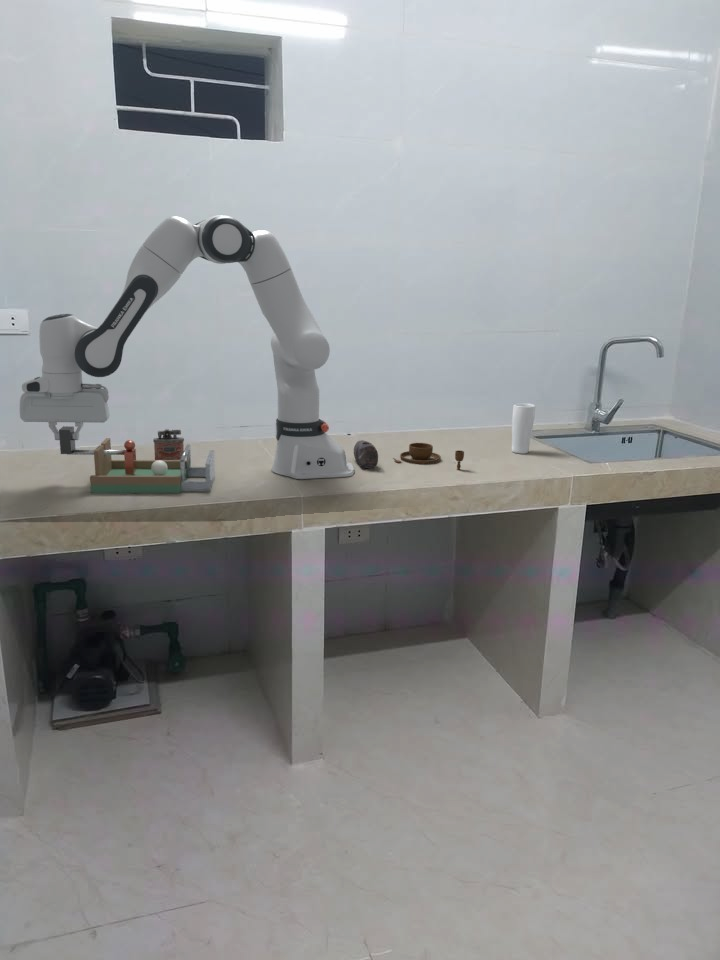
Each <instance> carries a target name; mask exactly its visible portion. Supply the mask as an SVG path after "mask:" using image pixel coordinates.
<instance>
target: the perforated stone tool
mask: <svg viewBox="0 0 720 960" xmlns="http://www.w3.org/2000/svg"><path fill="white" fill-rule="evenodd" d="M353 458H354V459H355V460H356V462H357V463H358V465H359V466H361V467H363V468H364V469H365V468H366V469H370V468H375V467H376V466H377V465H378V462H379V453H378V451H377V448H376V447H375V446H374V445H373V444H372V443H371V442H370V441H366V440H358V441H357V442H356V443H355V445H354V447H353Z"/></svg>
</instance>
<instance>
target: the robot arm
mask: <svg viewBox="0 0 720 960" xmlns="http://www.w3.org/2000/svg"><path fill="white" fill-rule="evenodd" d="M197 258H201V259H204V260H206V261H209V262H212V263H215V264H220V265H223V264H233V263H238V264H239V265H240V266H241V267H242V268H243V270H244V272H245V273H246V277H247V279H248V281H249V283H250V287H251V289H252V291H253V293H254V296H255V299H256V301H257V304H258V306H259V308H260V311H261V313H262V315H263V316H264V318H265V319H266V321H267V322H268V324H269V327H271V329H272V331H273V334H272V335H271V338H270V339H271V340H270V346H271V350H272V354H273V365H274V372H275V374H274V375H275V379H276V386H277V418H276V419H275V438H276V446H275V454H274V459H273V463H272V466H271V471H272V472H273V473H275V474H277V475H281V476H285V477H286V476H287V477H290V478H292V479H297V480H304V479H305V480H307V479H309V480H310V479H324V478H327V479H328V478H343V477H351V476H353V475H354V473H355V468H354V465H353V464H352V463H351V462H349V461H347V455H346V451H345V449H344V447H343V446H342V445H341V444H340V443H339V442H338V441H336V440H335V439H334V438H333V437H331V436H330V435H329V434H327V432H328V431H330V430H329V429H330V427H329V425H328V424H327V423H326V421H324V420H323V419H320V388H319V386H318V382H317V377H316V372H315V371H316V370H317V369H320V368H322V367H323V366H324V365H325V364H326V363H327V361H328V360H329V356H330V352H331V349H330V345H329V342H328V340H327V339H326V337H325V336H324V334H323V332H322V331H321V329H320V327H319V325H318V322H317V321H316V319H315V317H314V316H313V313H312V312H311V310H310V308H309V306H308V304H307V303H306V301H305V299H304V297H303V294H302V292H301V290H300V287H299V285H298V283H297V279H296V277H295V274H294V271H293V269H292V266H291V265H290V264H291V263H290V262H289V260H288V258H287V255H286V253H285V251H284V249H283V248H282V246H281V244H280V242H279V241H278V239H277V237H276V236H275V234H273V233H272V232H270V231H269V230H266V229H265V230H264V229H263V230H262V229H260V230H254V231H251V230H250V229H249V228H248V227H246V226H245V225H244V224H243V223H241V221H240V220H238V219H236V218H234V217H232V216H230V215H225V214H223V215H221V214H219V215H218V214H217V215H212V216H210V217H207V218H206V219H204V220H202V221H199V222H197V223H194V224H193V223H191V222H190V221H189V220H187V219H186V218H183V217H181V216H178V215H177V216H176V215H171V216H167V217H166V218H165V219H164V220H162V222H160V224H159V225H157V226H156V228H154V229H153V231H152V232H151V233H150V234H149V235H148V237H147V238H146V239H145V240H144V242H143V243H142V245H141V246H140V248H139V249H138V250H137V252H136V253H135V256H134V257H133V260H132V262H131V263H130V266H129V269H128V272H127V275H126V281H125V284H124V288H123V290H122V293H121V295H120V297H119V299H118V300H117V302H115V304H114V306H113V307H112V308H111V310H110V312H109V313H108V315H106V318H105V319H104V321H102V323H101V324H100V325H99V327H98V326H95V325H92V324H90V323H87V322H85V321H83V320H81V318H80V319H79V318H78V317H76V315H75V314H71V313H63V314H62V313H61V314H56V315H51V316H48V317H46V318H44V319H43V320H42V322H41V323H40V325H39V332H38V333H39V336H38V337H39V352H40V356H41V358H42V367H41V376H37V377H34V378H33V379H29V380H26V381H25V382H23V383H22V385H21V391H22V392H23V393H22V394H21V395H20V398H19V418H20V420H22V421H23V422H25V423H48V427H49V429H50V430H51V431H52V433H53V434H54V441H60V438H59V429H58V428H57V425H58V423H74V425H75V427H77V428H76V430H74V432H72V433H71V436H72V440H75V441H79V440H80V432H81V430H82V428H83V426H84V423H93V424H94V423H98V424H99V423H100V424H101V423H103V424H104V423H105V422H107V421H108V420H109V418H110V409H109V403H108V400H109V398H110V397H109V391H108V388H107V387H105V386H104V385H102V384H100V383H95V384H94V383H93V384H92V383H83V374H82V373H83V372H84V373H85V374H86V375H88V376H90V377H95V378H106V377H108V376H111V375H112V374H114V373H116V371H117V370H118V368H119V367H120V365H121V362H122V358H123V353H124V347H125V344H126V342H127V341H128V339H129V337H130V336H131V334H132V333H133V331H134V330H135V329H136V326H137V325H138V324H139V322H140V321H141V319H143V316H144V315H145V314H146V312H148V310H149V309H150V308H151V307H153V305H154V304H156V303H157V302H158V301H159V300H160V299H162V298H163V297H164V296H165V295H166V294H168V292H169V291H170V290H171V289H172V287H173V286H174V285H175V284H176V283H177V282H178V281H179V280H180V278H181V276H182V275H183V274H184V273H185V271H186V270H187V268H188V266H189V265H190V264H191V262H193V261H194V260H195V259H197Z"/></svg>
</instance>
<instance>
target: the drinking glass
mask: <svg viewBox="0 0 720 960" xmlns="http://www.w3.org/2000/svg"><path fill="white" fill-rule="evenodd" d="M512 406H513V407H512V413H511V452H512V453H514V454H519V455H526V454H528V453H529V451H530V444H531V438H532V432H533V429H534V423H535V418H536V417H535V416H536V405H535V404H532V403H527V402H525V403H524V402H519V403H518V402H517V403H514V404H513V405H512Z"/></svg>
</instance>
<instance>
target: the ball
mask: <svg viewBox="0 0 720 960" xmlns="http://www.w3.org/2000/svg"><path fill="white" fill-rule="evenodd" d="M151 470H152V472H153V474H155V475H156V476H163V475H164V474H166V472H167V470H168V467H167V464H166V463H165V462H164V461H162V460H157V461H155V462H154V463H153V464H152V466H151Z"/></svg>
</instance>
